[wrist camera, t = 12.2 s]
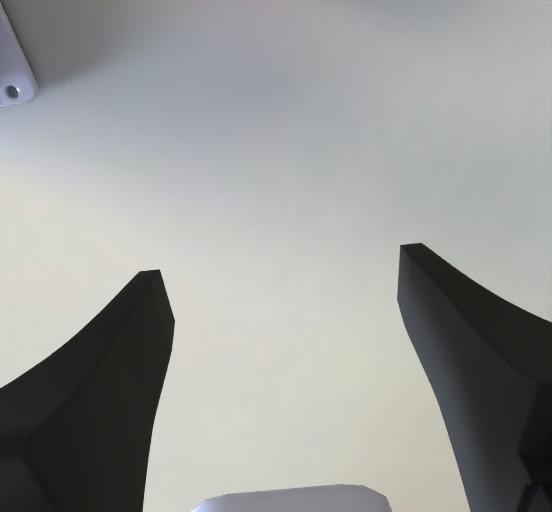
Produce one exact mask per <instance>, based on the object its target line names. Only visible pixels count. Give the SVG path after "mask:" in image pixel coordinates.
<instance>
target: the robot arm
mask: <svg viewBox="0 0 552 512" xmlns="http://www.w3.org/2000/svg"><path fill="white" fill-rule="evenodd" d="M10 85H12V86H14V87H16V89H17V90H18V93H19V95H18V96H15V95H14V94H12V93H11V91H10V88H9V87H10ZM38 95H39V87H38V84H37V82H36V79H35V77H34V75H33V73H32V71H31V68H30V66H29V64H28V62H27V60H26V57H25V55H24V53H23V51H22V48H21V46H20V44H19V42H18V40H17V37H16V35H15V33H14V31H13V29H12V26H11V24H10V22H9V20H8V18H7V15H6V13H5V11H4V9H3V7H2V4H1V2H0V107H4V106H9V105H14V104H19V103H24V102H29V101H31V100H33V99H35V98H36V97H37V96H38ZM397 300H398V304H399V308H400V311H401V315H402V318H403V321H404V325H405V328H406V330H407V332H408V335H409V337H410V339H411V342H412V344H413V346H414V348H415V351H416V353H417V355H418V357H419V359H420V362H421V364H422V366H423V368H424V371H425V373H426V375H427V377H428V379H429V382H430V384H431V386H432V388H433V391H434V393H435V396H436V398H437V401H438V404H439V407H440V410H441V413H442V416H443V419H444V422H445V425H446V428H447V431H448V435H449V438H450V441H451V444H452V448H453V451H454V454H455V458H456V461H457V464H458V468H459V471H460V475H461V478H462V482H463V485H464V489H465V493H466V496H467V500H468V503H469V507H470V511H471V512H552V322H549V321H547V320H545V319H542V318H540V317H538V316H536V315H534V314H531V313H529V312H527V311H525V310H523V309H521V308H519V307H518V306H516V305H514V304H512V303H510V302H508V301H506V300H504V299H503V298H501V297H499V296H497V295H496V294H494V293H492V292H491V291H489V290H487V289H486V288H484V287H483V286H481V285H479V284H478V283H476V282H475V281H473V280H472V279H470V278H469V277H467V276H466V275H464V274H463V273H462V272H460V271H459V270H457V269H456V268H455V267H453V266H452V265H451V264H449V263H448V262H446V261H445V260H444V259H442V258H441V257H440V256H438V255H437V254H436V253H434V252H433V251H432V250H430V249H429V248H428V247H426V246H425V245H424V244H422V243H415V244H406V245H400V260H399V277H398V294H397ZM174 325H175V320H174V316H173V313H172V309H171V306H170V303H169V299H168V296H167V292H166V289H165V286H164V282H163V279H162V275H161V272H160V269H159V270H149V271H140V272H139V273H138V274H137V275H136V276H135V277H134V278H133V279H132V280H131V281H130V282H129V283H128V284H127V285H126V286H125V287H124V288H123V289H122V290H121V291H120V292H119V293H118V294H117V295H116V296H115V297H114V298H113V299H112V300H111V301H110V302H109V303H108V305H107V306H106V307H105V308H104V309H103V310H102V311H101V312H100V313H99V314H98V315H96V316H95V317H94V318H93V319H92V320H91V321H90V322H89V323H88V324H87V325H86V326H85V327H84V328H82V329H81V330H80V331H79V332H78V333H77V334H76V335H75V336H74V337H72V338H71V339H70V340H69V341H68V342H66V343H65V344H64V345H63V346H62V347H60V348H59V349H58V350H56V351H55V352H54V353H52V354H51V355H50V356H49V357H47V358H46V359H44V360H43V361H42V362H40V363H39V364H37V365H36V366H34V367H33V368H31V369H30V370H28V371H27V372H25V373H24V374H22V375H21V376H19V377H18V378H16V379H15V380H13V381H12V382H10V383H8V384H7V385H5V386H3V387H2V388H0V512H142V511H143V501H144V491H145V483H146V474H147V466H148V458H149V451H150V444H151V437H152V430H153V424H154V420H155V415H156V411H157V407H158V403H159V399H160V395H161V391H162V387H163V384H164V380H165V376H166V372H167V368H168V364H169V360H170V356H171V351H172V344H173V336H174ZM191 512H392V509H391V507H390V505H389V503H388V501H387V498H386V496H384V495H382V494H380V493H378V492H376V491H374V490H372V489H370V488H368V487H365V486H362V485H345V484H337V485H326V486H314V487H303V488H291V489H280V490H268V491H257V492H245V493H234V494H226V495H222V496H218V497H214V498H210V499H206V500H205V501H204V502H202V503H201V504H200V505H199V506H197V507H196V508H195V509H193V510H192V511H191Z"/></svg>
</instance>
